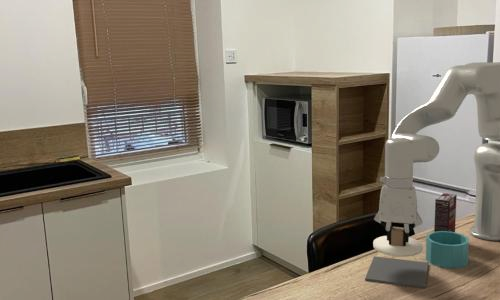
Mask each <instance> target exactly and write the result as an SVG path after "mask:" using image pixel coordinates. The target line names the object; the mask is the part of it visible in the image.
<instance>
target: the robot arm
mask: <svg viewBox="0 0 500 300" xmlns="http://www.w3.org/2000/svg"><path fill="white" fill-rule="evenodd" d="M467 95H468V96H469V95H473V96H474V98H475V100H476V109H477V110H476V111H477V112H476V113H477V131H478V134H479V136H480V138H482V139H483V140H486V141H490V142H487V143H486V142H485V143H482V144H480V145H478V146H477V148H476V149H475V151H474V154H473V155H474V156H473V159H474V166H475V173H476V175H475V176H476V182H475V183H476V185H475V187H476V188H475V207H474V208H475V209H474V210H475V211H474V212H475V214H474V225H472V226H471V227H469V234H470V235H471V236H473V237H475V238H478V239H481V240H486V241H494V242H495V241H500V143H495V142H500V62H487V61H486V62H470V63H466V64H461V65H455V66H451V67H450V68H449V69H448V70H447V71H446V72H445V73H444V75H443V76H442V78H441V80H440V81H439V83H438V85H437V86H436V88H435V89H434V91H433V93H432V94H431V96H430V97H429V99H428V101H427V102H425V103H424V104H421V105H420V106H418V107H417V108H415V109H414V110H413V111H411V112H409V113H408V114H407V115H406V116H404V117H403V118H402V119H401V120H400V122H398V124H397V127H395V129H394V131H393V133H392V134H391V136H390V138H389V139H387V140H386V142H385V145H384V147H385V148H384V149H385V151H384V176H380V177H379V182H380V183H381V182H382V183H383V185H382V186H381V189H380V194H379V204H378V205H379V206H378V212H377V213H376V214H375V216H374V217H373V220H374V221H375V222H377V223H379V224H380V225H381V226H382V227H383V228H384V229H385V231H386V236H387V240H388V241H389V245H391V230H392V227H393V226H392V224H393V223H395V224H403V226H404V227H403V228H404V232H403V246H405V245H406V242H407V243H408V241H409V237H410V231H413V229H415V228H416V227H420V226H421V225H423V219H422V218H421V215H419V211H418V200H417V191H416V187H415V185H413V183H414V182H413V181H414V163H429V162H432V161H433V160H435V158H437V156H438V155H439V152H440V144H439V142H438V141H437V140H436V139H435V138H434V137H432V136H428V135H424V134H423V135H422V134H417V133H418V132H419V131H422V130H423V129H424V128H425V129H426V128H427V127H430V126H433V125H437V124H440V123H443V122H446V121H449V120H451V119H452V118H454V117H455V116H456V113H457V112H458V110H459V108H460V107H461V105H462V104H463V101H465V99H466V97H467Z"/></svg>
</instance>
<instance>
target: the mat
mask: <svg viewBox="0 0 500 300" xmlns="http://www.w3.org/2000/svg"><path fill="white" fill-rule="evenodd" d="M428 270H429V262H428V261H418V260H409V259H401V258H394V257H393V258H392V257H385V256H373V258H372V261H371V263H370V265H369V268H368V270H367V273H366V275H365V277H364V281H369V282H374V283H383V284H390V285H397V286H402V287H403V286H405V287H412V288H419V289H420V288H421V289H426V282H427V276H428Z"/></svg>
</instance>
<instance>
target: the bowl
mask: <svg viewBox="0 0 500 300" xmlns="http://www.w3.org/2000/svg"><path fill="white" fill-rule="evenodd" d="M425 239H426V240H425V241H426V242H425V244H426V245H425V247H426V248H425V249H426V250H425V260H426V262H428V264H429V263H430V265H434V266H436V267H439V268H445V269H458V268H460V269H461V268H464V267H466V266H467V265H469V251H470V250H469V245H470V244H469V243H470V238H469V237H467V236H466V235H465V234H463V233H458V232H456V231H455V232H448V231H437V232H434V231H432V232H429V233H427V234H426V238H425Z"/></svg>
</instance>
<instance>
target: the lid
mask: <svg viewBox="0 0 500 300" xmlns="http://www.w3.org/2000/svg"><path fill="white" fill-rule="evenodd" d="M391 227H392V230H391V245H389V241H388V240H387V235H382V236H379V237H376V238H375V239H373V242H372V244H373V245H372V246H373V249H374V250H376V251H377V252H378V253H380V254H384V255H387V256H392V257H399V258H403V257H404V258H406V257H413V256H416V255H420V254H421V253H422V251H423V248H424V247H423V243H422V242H421V241H419V240H418V239H416V238H414V237H410V236H409V241H408V243H407V242H406V245H405V246H403V232H404V227H399V226H391Z"/></svg>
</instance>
